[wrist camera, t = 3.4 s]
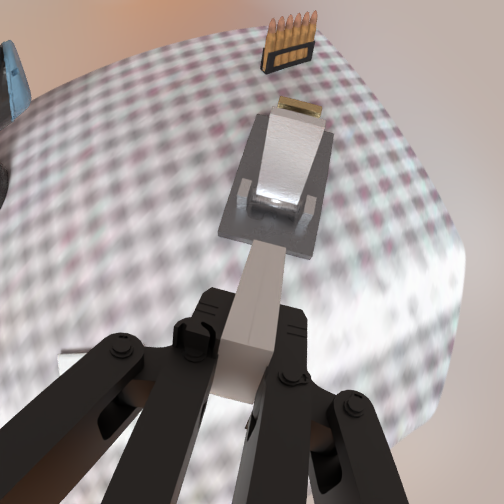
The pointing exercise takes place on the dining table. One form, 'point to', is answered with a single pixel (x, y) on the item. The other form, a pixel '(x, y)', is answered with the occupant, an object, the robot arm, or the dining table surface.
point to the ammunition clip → (289, 43)
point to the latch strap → (287, 159)
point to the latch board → (269, 218)
